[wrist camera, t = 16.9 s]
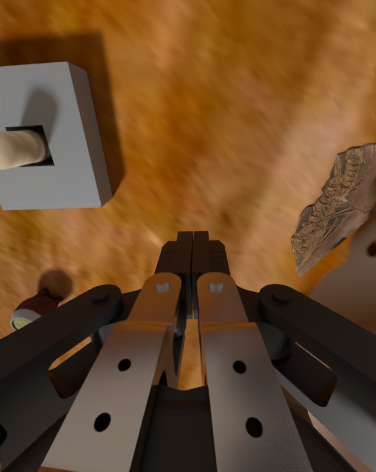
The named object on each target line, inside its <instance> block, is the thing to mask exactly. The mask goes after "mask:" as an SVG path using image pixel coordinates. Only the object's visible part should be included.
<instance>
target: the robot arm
mask: <svg viewBox="0 0 376 472" xmlns="http://www.w3.org/2000/svg"><path fill="white" fill-rule="evenodd" d="M193 311H194V319H198V337H199V349H200V361H201V373H202V386H201V387H197V388H194V389H190V390H185V391H181V390H178V379H179V373H180V366H181V360H182V354H183V347H184V341H185V329H186V321H187V319H192V312H193ZM89 336H90V338H91V340H92V342H90V343H89V344H87V345H86V346H85V347H83V348H82V349H81V350H79V351H78V352H76V353H75V354H74V355H72V356H71V357H69V358H68V359H67V360H65V361H64V362H63V363H61V364H60V365H58V366H57V367H56V368H54V369H52V370H48V369H49V367H50V366H51V364H52V363H53V362H54V361H55V360H56V359H57V358H59V357H60V356H62V355H63V354H65V353H66V352H67V351H69V350H70V349H72V348H73V347H75V346H76V345H77V344H79V343H80V342H82V341H83V340H84V339H86V338H87V337H89ZM295 342H297V343H298V344H300V345H301V346H302V347H303V348H305V349H306V350H308V351H309V352H310V353H312V354H313V355H314V356H316V357H317V358H318V359H320V360H321V361H322V362H324V363H325V364H326V365H327V366H329V367H330V369H331V370H332V371H331V370H330V369H329V368H327V367H326V366H324V365H323V364H322V363H321V362H319V361H318V360H317V359H315V358H314V357H313V356H311V355H310V354H309V353H307V352H306V351H305V350H303V349H302V348H301V347H299V346H298V345H297V344H295ZM280 385H282V386H283V387H284V388H285V389H286V390H287V391H288V392H289V393H290V394H291V395H292V396H293V397H294V398H295V399H296V400H297V401H298V402H299V403H301V404H302V405H303V406H304V407H305V408H306V409H307V410H308V411H309V412H310V413H311V414H312V415H313V416H314V417H315V418H317V419H318V420H319V421H320V422H321V423H322V424H323V425H324V426H325V427H326V428H327V429H328V430H329V431H330V432H331V433H332V434H333V435H334V436H335V437H336V438H338V439H339V440H340V441H341V442H342V443H343V444H344V445H345V446H346V447H347V448H348V449H349V450H350V451H351V452H352V453H353V454H354V455H356V456H357V457H358V458H359V459H360V460H361V461H362V462H363V463H364V464H365V465H366V466H367V467H368V468H369V469H370V470H371V471H372V472H376V335H375V334H373V333H371V332H369V331H368V330H366V329H364V328H362V327H360V326H359V325H357V324H355V323H353V322H352V321H350V320H348V319H346V318H344V317H343V316H341V315H339V314H337V313H335V312H334V311H332V310H330V309H328V308H327V307H325V306H323V305H321V304H319V303H318V302H316V301H314V300H312V299H311V298H309V297H307V296H305V295H303V294H302V293H300V292H298V291H296V290H294V289H293V288H291V287H288V286H285V285H280V284H271V285H267V286H264V287H263V288H262V289H261V290H260V292H259V293H257V292H253V291H249V290H245V289H243V288H241V287H239V286H237V285H236V284H235V281H234V280H233V278H232V277H231V276H230V271H229V266H228V261H227V256H226V251H225V246H224V245H223V244H222V243H221V242H220V241H219V240H209V234H208V231H194V240H193V231H184V232H178V237H177V241H168V242H167V243H166V244H165V245H164V246H163V247H162V250H161V254H160V257H159V260H158V263H157V267H156V270H155V273H154V275H152V276H150V277H149V278H148V279H147V280H146V281H145V282H144V285H143V287H142V289H139V290H137V291H133V292H128V293H124V294H121V290H120V288H118V287H117V286H115V285H110V284H106V285H100V286H97V287H94V288H92V289H90V290H88V291H86V292H85V293H83V294H81V295H79V296H77V297H76V298H74V299H72V300H70V301H68V302H67V303H65V304H63V305H61V306H59V307H58V308H56V309H54V310H52V311H51V312H49V313H47V314H45V315H43V316H42V317H40V318H38V319H36V320H34V321H33V322H31V323H29V324H27V325H25V326H24V327H22V328H20V329H18V330H16V331H15V332H13V333H11V334H9V335H7V336H6V337H4V338H2V339H0V472H357V471H356V470H355V469H354V468H353V467H352V466H351V465H350V464H349V463H348V462H347V461H346V460H345V459H344V457H343V456H342V455H341V454H340V453H339V452H338V451H337V450H336V449H335V448H334V447H333V446H332V445H331V444H330V443H329V442H328V441H327V440H326V439H325V438H324V437H323V436H322V435H321V434H320V433H319V432H318V431H317V430H316V429H315V428H314V427H313V426H312V425H311V424H310V423H309V422H308V421H307V420H305V419H304V418H303V417H302V416H301V415H300V414H298V413H297V412H295V411H294V410H293V409H291V408H290V407H288V405H287V402H286V399H285V397H284V394H283V391H282V389H281V386H280Z"/></svg>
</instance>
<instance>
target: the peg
mask: <svg viewBox="0 0 376 472" xmlns="http://www.w3.org/2000/svg"><path fill="white" fill-rule="evenodd" d="M51 158H52V155H51V152H50V149H49V146H48V142H47V139H46V136H45V133H44V130H21V131H4V132H0V169H2V170H3V169H9V168H13V167H17V166H21V165H26V164H30V163H38V162H41V161H43V160H47V159H51Z"/></svg>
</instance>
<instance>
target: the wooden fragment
mask: <svg viewBox="0 0 376 472" xmlns="http://www.w3.org/2000/svg"><path fill="white" fill-rule="evenodd" d="M336 157H337V158H336V161H335V164H334V168H333V169H332V171H331V176H330V179H329V181H328V182H327V183H326V185H325V186H324V187H323V189H322V191H323V192H324V193H323V195H321V197H320V198H319V199H318V200H317V201H316V203H315V204H314V205H311V206H309V207H307V208H306V209H305V210H304V211H303V213H302V214H301V216H300V221H299V223H298V228H297V231H296V233H295V235H294V236H292V237H291V243H292V247H293V252H294V253H295V254H294V256H295V260H296V264H297V267H296V271H297V274H298V275H299V276H300V277H301V276H302V275H303V274H304V273H306V272H307V271H308V270H309V269H310V268H312V267H313V266H314V265H315V264H316V263H318V262H319V261H320V260H321V259H322V258H323V257H324V256H326V255H327V254H328V253H329V252H330V251H332V250H333V249H334V248H336V247H337V246H338V245H339V244H340V243H341V242H343V241H344V240H345V239H346V238H347V237H348V236H349V235H351V234H352V233H353V232H354V231H355V230H356V229H357V228H358V227H359V226H360V225H361V224H363V223H364V222H365V221H366V220H367V219H368V218H369V215H371V214H372V212H373V209H374V206H375V201H376V143H367V144H364V145H362V146H361V147H359V148H350V149H348V150H347V151H346V152H345V153H341V154H338V155H336ZM367 214H369V215H367Z"/></svg>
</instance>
